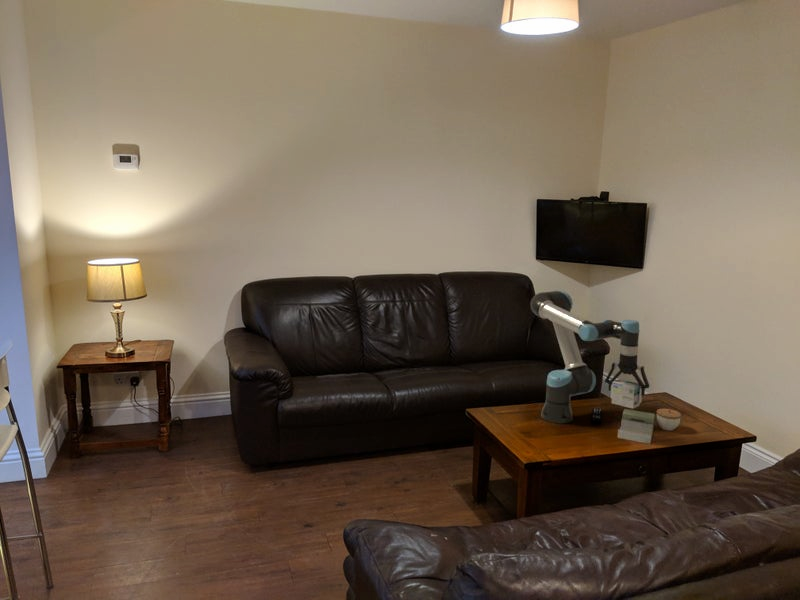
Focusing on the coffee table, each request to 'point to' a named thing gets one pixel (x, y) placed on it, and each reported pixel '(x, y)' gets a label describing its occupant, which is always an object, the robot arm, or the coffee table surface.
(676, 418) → the lidded jar
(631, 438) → the chute
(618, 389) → the light bulb box
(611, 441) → the coffee table surface
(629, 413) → the olive green block
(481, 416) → the coffee table surface
